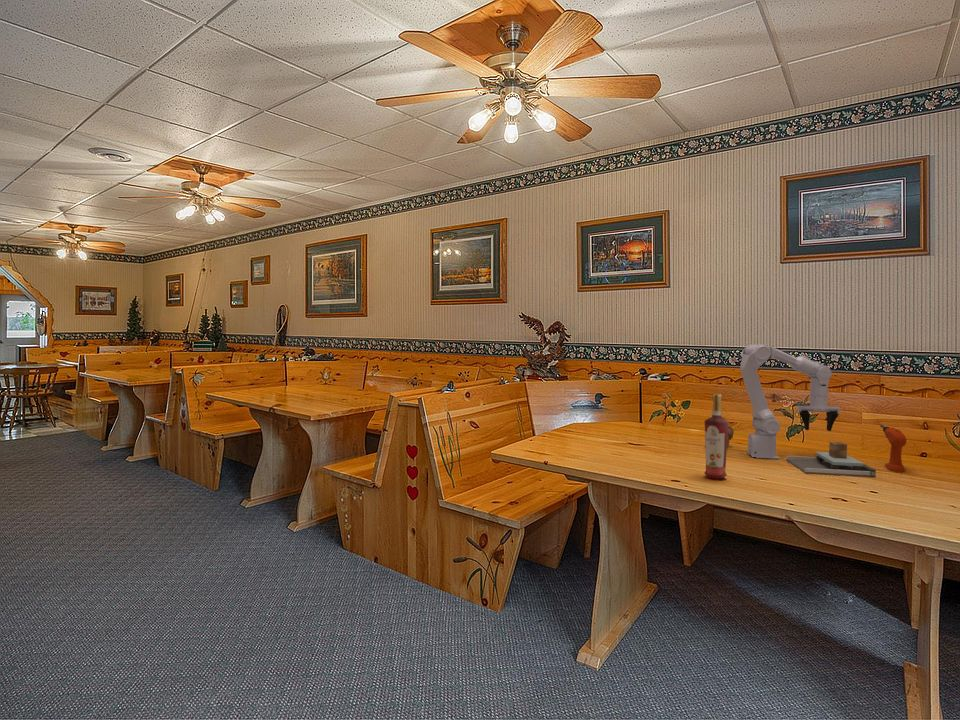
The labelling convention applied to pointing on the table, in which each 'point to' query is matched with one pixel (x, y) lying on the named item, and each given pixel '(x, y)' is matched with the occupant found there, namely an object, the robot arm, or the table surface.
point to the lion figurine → (729, 434)
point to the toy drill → (895, 448)
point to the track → (828, 467)
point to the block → (838, 450)
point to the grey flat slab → (839, 461)
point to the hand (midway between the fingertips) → (817, 430)
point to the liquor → (716, 442)
